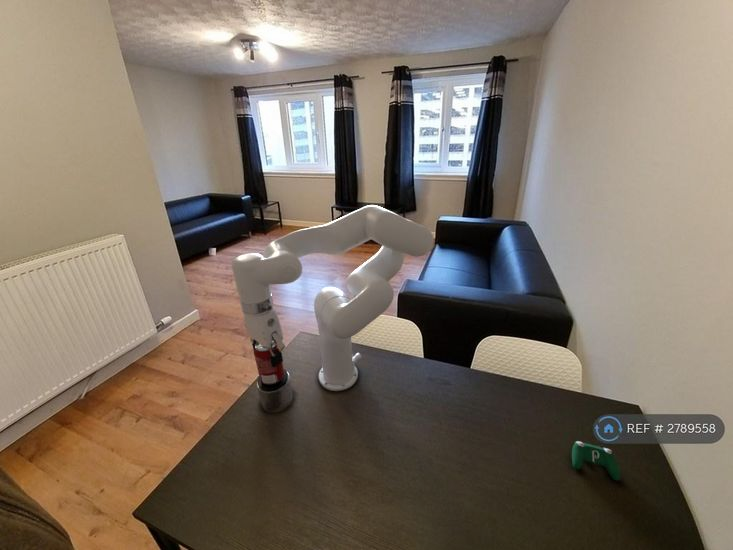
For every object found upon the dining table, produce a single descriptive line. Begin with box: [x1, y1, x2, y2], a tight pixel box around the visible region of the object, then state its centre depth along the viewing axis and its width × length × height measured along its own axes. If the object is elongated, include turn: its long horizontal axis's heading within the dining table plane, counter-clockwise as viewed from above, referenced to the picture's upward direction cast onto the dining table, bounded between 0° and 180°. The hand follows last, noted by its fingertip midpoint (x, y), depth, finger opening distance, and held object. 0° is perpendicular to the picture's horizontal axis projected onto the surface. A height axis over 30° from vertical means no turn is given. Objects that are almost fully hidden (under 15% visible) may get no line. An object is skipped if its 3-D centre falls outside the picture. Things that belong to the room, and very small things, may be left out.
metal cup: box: [256, 368, 294, 413], centre depth 88 cm, size 9×9×9 cm
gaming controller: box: [571, 440, 621, 481], centre depth 71 cm, size 9×4×6 cm
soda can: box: [253, 340, 285, 385], centre depth 83 cm, size 7×7×12 cm
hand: (268, 357), depth 83 cm, fingers open, 7 cm apart
